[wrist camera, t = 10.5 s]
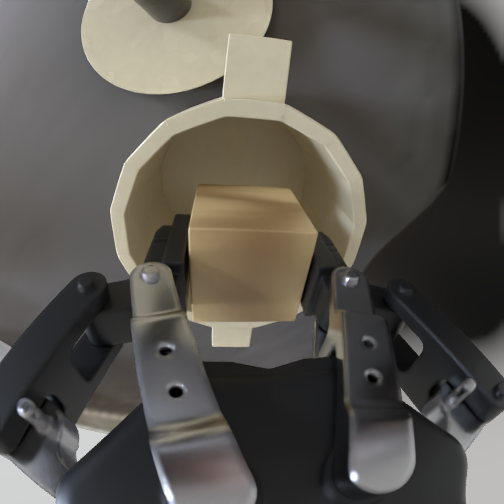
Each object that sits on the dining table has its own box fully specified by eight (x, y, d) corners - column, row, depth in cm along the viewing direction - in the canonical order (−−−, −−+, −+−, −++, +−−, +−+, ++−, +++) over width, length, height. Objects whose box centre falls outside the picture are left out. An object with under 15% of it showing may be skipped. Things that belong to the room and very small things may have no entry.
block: (197, 261, 13) (192, 322, 10) (197, 183, 11) (187, 227, 8) (277, 263, 14) (295, 321, 11) (290, 188, 12) (319, 232, 8)
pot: (160, 271, 22) (141, 352, 15) (157, 58, 13) (107, 37, 6) (292, 275, 24) (318, 352, 17) (329, 72, 15) (400, 69, 8)
